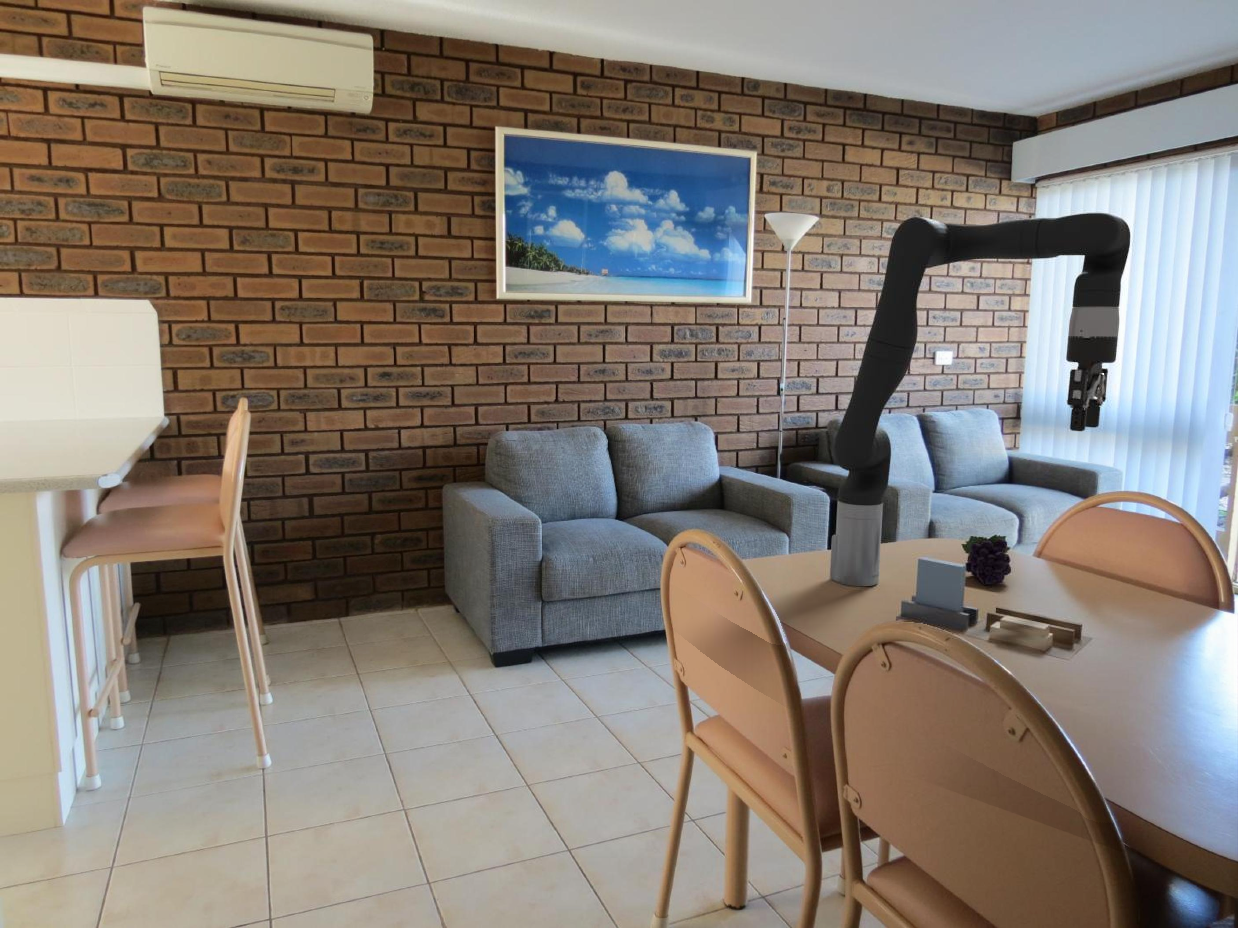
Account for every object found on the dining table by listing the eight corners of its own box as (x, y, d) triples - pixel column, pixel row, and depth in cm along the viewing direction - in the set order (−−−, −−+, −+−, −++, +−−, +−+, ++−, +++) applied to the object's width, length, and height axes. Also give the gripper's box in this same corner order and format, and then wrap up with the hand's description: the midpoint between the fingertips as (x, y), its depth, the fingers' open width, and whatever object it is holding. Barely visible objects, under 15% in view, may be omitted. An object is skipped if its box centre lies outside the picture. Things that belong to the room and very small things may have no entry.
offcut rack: (961, 639, 150) (962, 620, 150) (990, 621, 160) (992, 602, 160) (1068, 665, 139) (1070, 644, 138) (1092, 643, 149) (1094, 623, 149)
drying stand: (896, 621, 160) (897, 602, 159) (916, 610, 166) (918, 592, 166) (961, 637, 152) (963, 617, 151) (980, 624, 158) (982, 606, 158)
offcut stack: (989, 637, 149) (990, 617, 148) (996, 632, 151) (998, 613, 151) (1045, 650, 143) (1047, 630, 142) (1052, 645, 145) (1053, 624, 145)
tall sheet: (914, 613, 161) (918, 558, 159) (919, 611, 162) (923, 556, 161) (957, 624, 155) (961, 566, 154) (962, 621, 157) (966, 564, 155)
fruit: (974, 601, 183) (957, 565, 197) (1027, 595, 181) (1007, 560, 195) (972, 558, 180) (955, 525, 193) (1026, 552, 178) (1005, 520, 191)
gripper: (1080, 334, 157) (1072, 424, 159) (1056, 334, 146) (1048, 430, 149) (1127, 335, 152) (1118, 427, 154) (1106, 334, 141) (1097, 434, 144)
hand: (1084, 429), depth 151 cm, fingers open, 8 cm apart
